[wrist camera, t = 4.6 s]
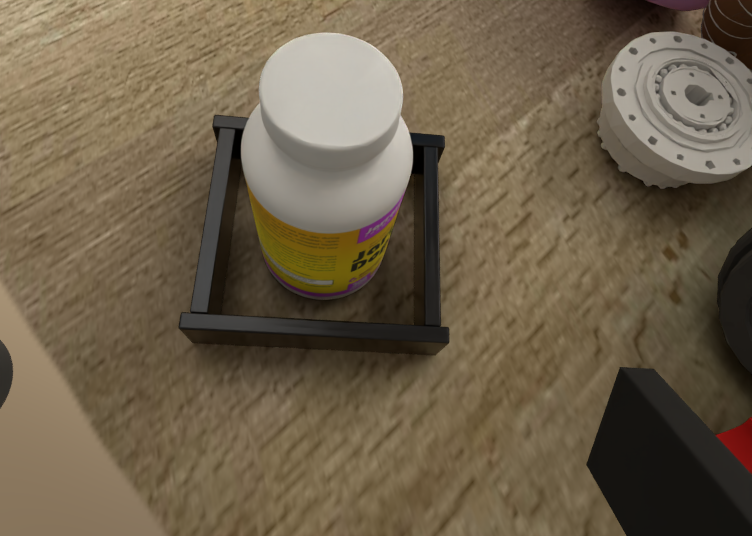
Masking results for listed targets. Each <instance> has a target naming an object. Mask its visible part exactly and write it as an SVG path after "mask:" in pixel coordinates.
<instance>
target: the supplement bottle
mask: <svg viewBox="0 0 752 536" xmlns="http://www.w3.org/2000/svg"><path fill="white" fill-rule="evenodd" d="M259 98H260V103H259V104H258V105H257V107H256V108H255V109H254V111H253V112H252V114H251V115H250V117H249V119H248V121H247V123H246V126H245V129H244V132H243V136H242V142H241V160H242V166H243V171H244V176H245V180H246V184H247V188H248V193H249V197H250V202H251V206H252V211H253V215H254V219H255V224H256V228H257V232H258V237H259V241H260V246H261V251H262V254H263V257H264V260H265V263H266V265H267V267H268V269H269V270H270V272H271V273H272V275H273V276H274V277H275V278H276V279H277V281H278V282H279V283H280V284H282V285H283V286H284V287H285V288H287V289H288V290H290V291H292V292H293V293H295V294H298V295H300V296H303V297H306V298H311V299H318V300H331V299H337V298H342V297H344V296H347V295H350V294H352V293H354V292H356V291H358V290H359V289H360V288H362V287H363V286H364V285H366V284H367V283H368V282H369V281H370V280H371V278H372V277H373V276H374V275H375V273H376V272H377V270H378V268H379V266H380V264H381V261H382V259H383V256H384V253H385V251H386V248H387V245H388V242H389V239H390V236H391V233H392V230H393V226H394V224H395V220H396V217H397V214H398V211H399V208H400V205H401V202H402V199H403V197H404V194H405V191H406V188H407V185H408V181H409V178H410V175H411V170H412V165H413V148H412V142H411V137H410V134H409V131H408V129H407V126H406V124H405V122H404V120H403V118H402V117H401V115H400V114H401V109H402V103H403V89H402V84H401V80H400V77H399V75H398V73H397V71H396V69H395V68H394V66H393V65H392V63H391V62H390V61H389V60H388V58H387V57H386V56H385V55H384V54H383V53H381V52H380V51H379V50H378V49H377V48H375V47H373V46H372V45H370V44H369V43H367V42H365V41H362V40H360V39H358V38H355V37H352V36H348V35H344V34H338V33H315V34H309V35H305V36H301V37H298V38H296V39H293V40H291V41H289V42H288V43H286V44H284V45H283V46H281V47H280V48H279V49H278V50H276V51H275V52H274V54H273V55H272V56H271V57H270V58H269V59H268V61H267V62H266V64H265V66H264V68H263V70H262V73H261V77H260V82H259Z"/></svg>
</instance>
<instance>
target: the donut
mask: <svg viewBox="0 0 752 536" xmlns="http://www.w3.org/2000/svg"><path fill="white" fill-rule="evenodd" d="M705 8H706V10H705V9H704V10H705V13H704V10H703V20H702V24H701V37H702V38H703V39H706V40H707V41H709V42H711V43H713V44H715V45H717V46H719V47H721V48H723V49H725V50H726V51H727V52H729V53H730V54H731V55H733V56H734V57H735V58H737V59H738V60H739V61H741V62H742V63H743V64H744V65H745V66H746V67H747V68H748V69H749V70H750V71H751V72H752V0H709V2H708V4H707V6H706V7H705Z"/></svg>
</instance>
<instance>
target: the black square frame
mask: <svg viewBox="0 0 752 536" xmlns="http://www.w3.org/2000/svg"><path fill="white" fill-rule="evenodd" d="M248 119H249V118H245V117H234V116H223V115H214V120H213V126H212V127H213V130H214V133H215V137H216V140H217V149H216V155H215V161H214V167H213V173H212V179H211V185H210V192H209V198H208V204H207V210H206V216H205V222H204V229H203V235H202V241H201V247H200V253H199V259H198V265H197V272H196V278H195V284H194V290H193V296H192V302H191V309H190V312H191V313H188V312H182V313H181V315H180V321H179V329H180V330H181V331H182V332H183V333H184V334H185V335H186V336H187V338H188V339H189V340H190V341H191V342H192V343H200V344H220V345H239V346H259V347H279V348H299V349H318V350H338V351H358V352H378V353H398V354H417V355H436V354H437V353H439V352H440V351H441V350H442V349H443V348H444V347H445V346H446V345H447V344H448V343H449V328H448V327H440V326H441V304H440V248H439V192H438V163H439V160H440V158H441V155H442V153H443V150H444V148H445V137H444V136H442V135H431V134H420V133H409V134H410V137H411V142H412V148H413V165H412V170H411V174H414V325H402V324H385V323H367V322H349V321H331V320H313V319H295V318H277V317H259V316H242V315H224V314H221V310H222V303H223V295H224V288H225V281H226V274H227V267H228V260H229V253H230V245H231V238H232V231H233V224H234V217H235V210H236V203H237V195H238V188H239V181H240V174H241V167H242V160H241V142H242V136H243V132H244V129H245V126H246V123H247V121H248Z"/></svg>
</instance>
